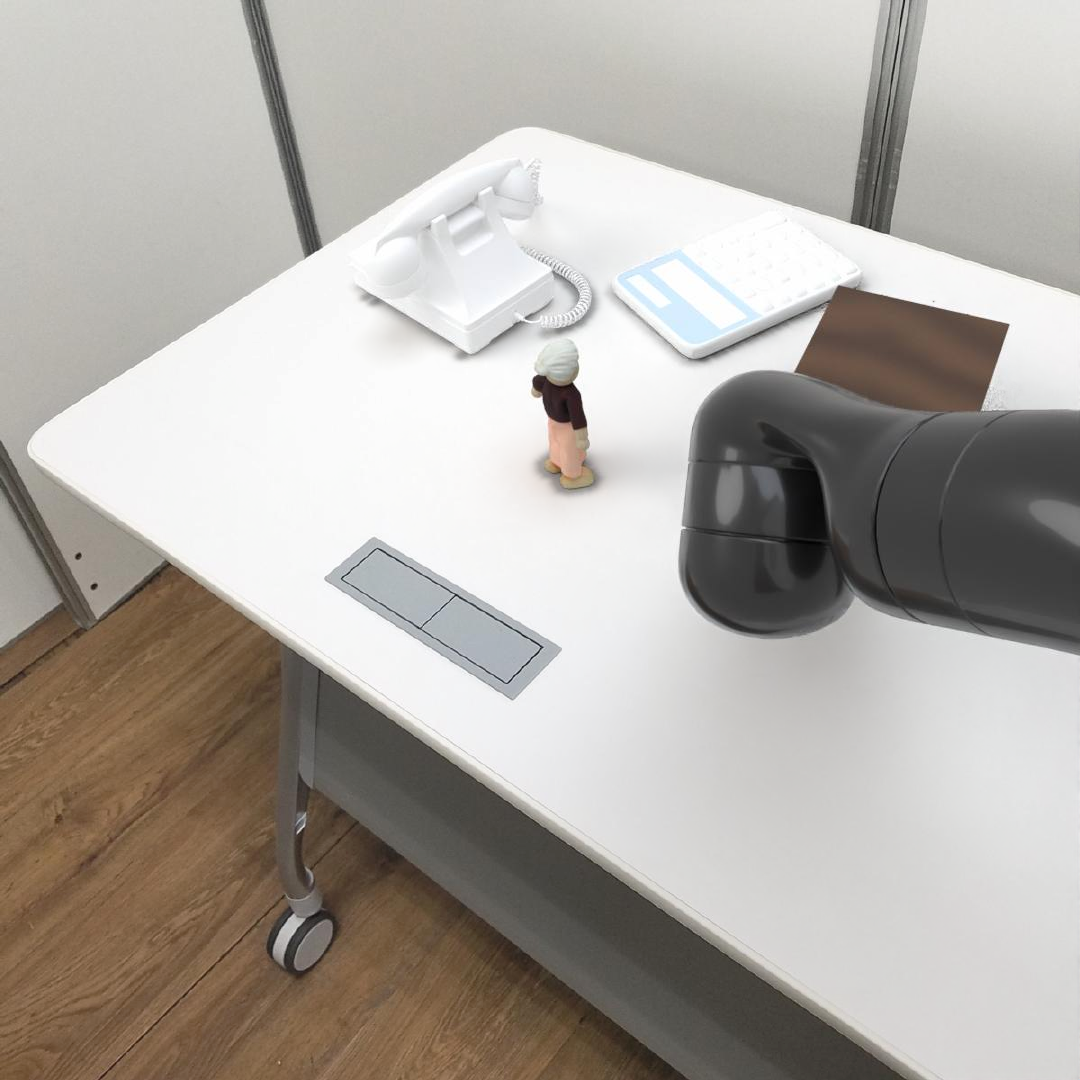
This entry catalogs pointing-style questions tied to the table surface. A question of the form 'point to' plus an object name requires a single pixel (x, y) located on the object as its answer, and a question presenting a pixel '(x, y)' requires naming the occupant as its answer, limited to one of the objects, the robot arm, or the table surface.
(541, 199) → the telephone
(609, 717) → the table surface
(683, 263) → the calculator
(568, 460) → the grandmother figurine
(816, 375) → the cabinet
